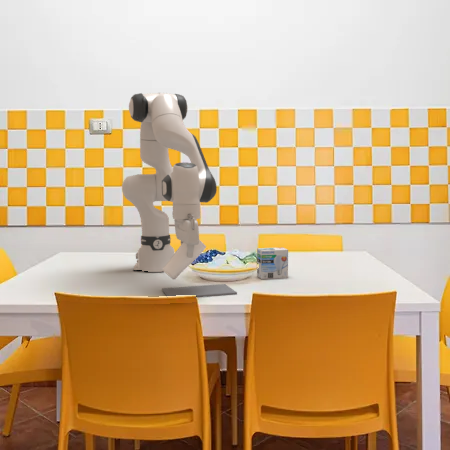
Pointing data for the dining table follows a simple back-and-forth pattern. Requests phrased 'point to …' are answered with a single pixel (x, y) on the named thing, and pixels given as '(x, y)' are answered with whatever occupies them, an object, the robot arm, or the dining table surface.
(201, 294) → the slate rubber mat
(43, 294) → the dining table surface
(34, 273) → the dining table surface
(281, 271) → the light bulb box
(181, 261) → the drinking glass
